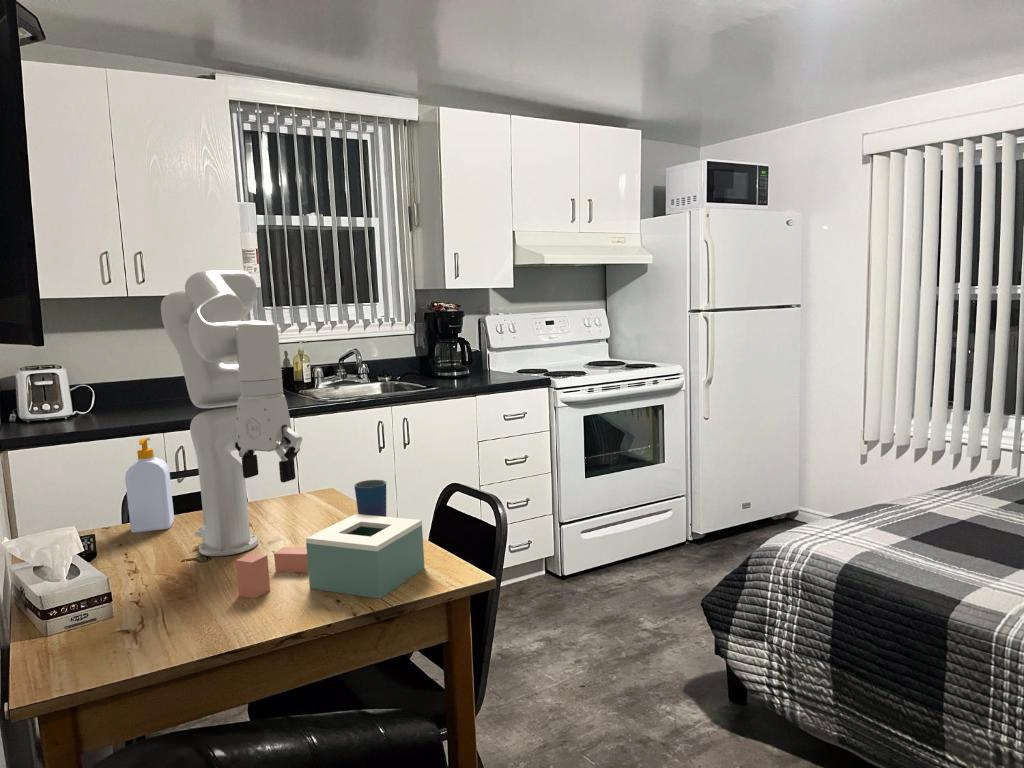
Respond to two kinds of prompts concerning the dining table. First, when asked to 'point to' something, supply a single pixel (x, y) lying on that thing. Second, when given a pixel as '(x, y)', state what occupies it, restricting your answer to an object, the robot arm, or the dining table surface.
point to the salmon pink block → (253, 575)
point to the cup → (371, 497)
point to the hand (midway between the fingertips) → (269, 478)
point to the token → (291, 559)
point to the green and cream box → (365, 555)
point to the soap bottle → (149, 492)
